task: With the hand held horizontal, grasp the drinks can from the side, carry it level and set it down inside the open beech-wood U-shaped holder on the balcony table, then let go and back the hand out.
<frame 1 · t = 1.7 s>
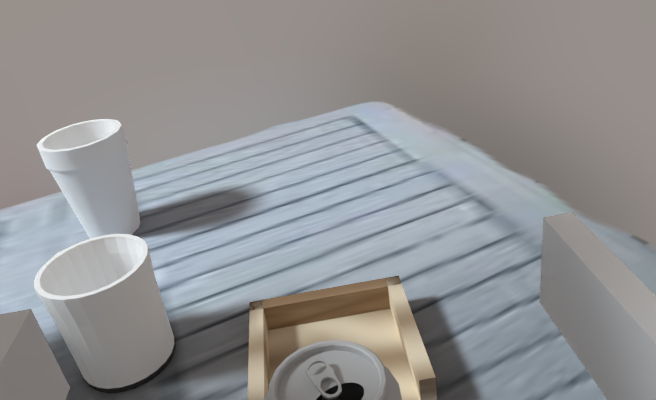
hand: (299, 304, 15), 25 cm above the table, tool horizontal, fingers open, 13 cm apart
holder: (337, 368, 46), on the table
foam cup: (115, 230, 72), on the table
mug: (124, 355, 51), on the table
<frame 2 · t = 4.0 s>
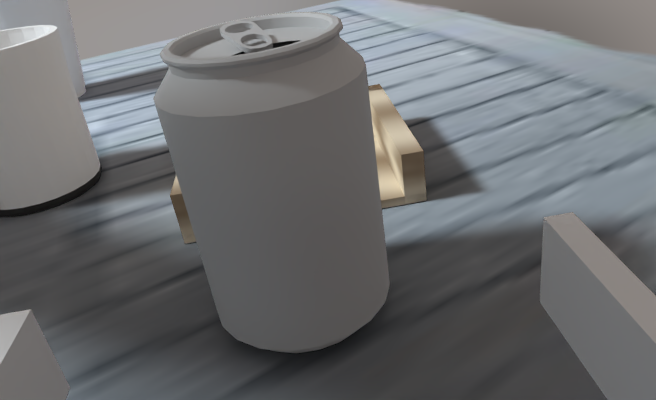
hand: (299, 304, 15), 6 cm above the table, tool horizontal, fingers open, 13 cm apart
holder: (300, 178, 36), on the table
can: (306, 308, 25), on the table
foam cup: (56, 99, 62), on the table
mug: (39, 187, 41), on the table
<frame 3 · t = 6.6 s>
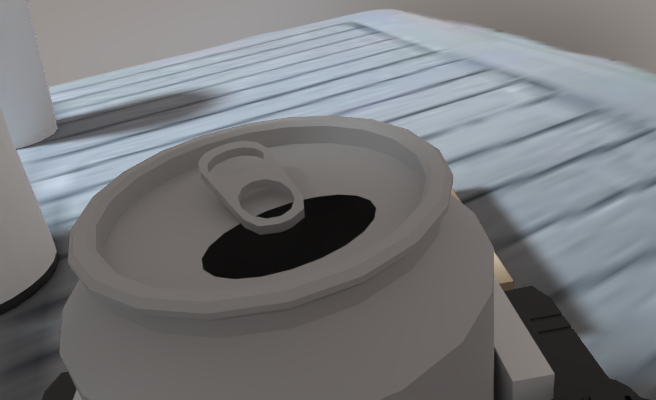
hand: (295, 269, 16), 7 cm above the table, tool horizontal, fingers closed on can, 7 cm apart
holder: (322, 288, 26), on the table
foam cup: (22, 139, 52), on the table
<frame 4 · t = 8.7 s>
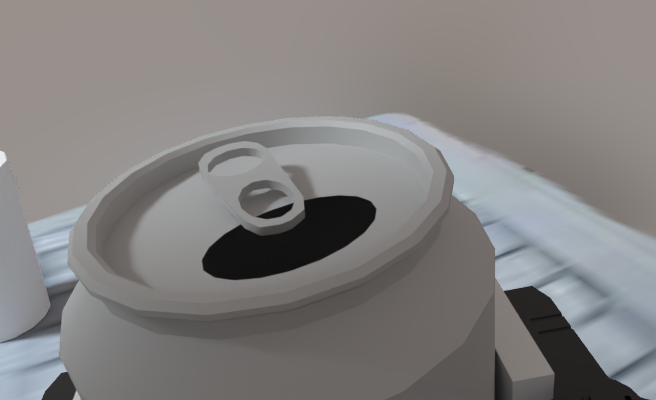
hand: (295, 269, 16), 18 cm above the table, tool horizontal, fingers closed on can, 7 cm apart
foam cup: (11, 319, 47), on the table
when the fingers open (9 cm above the table, at t = 10.9 s): can drops 1 cm, resting on holder.
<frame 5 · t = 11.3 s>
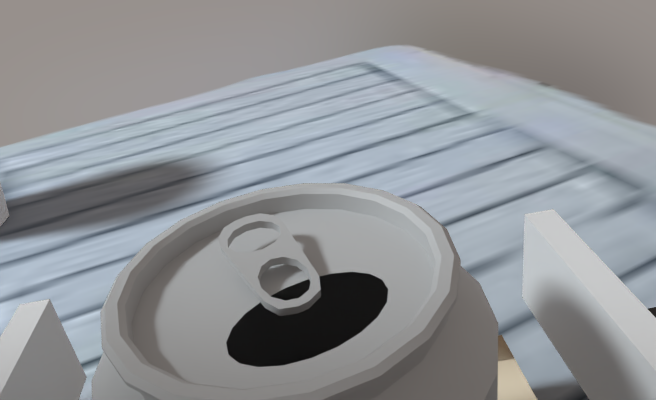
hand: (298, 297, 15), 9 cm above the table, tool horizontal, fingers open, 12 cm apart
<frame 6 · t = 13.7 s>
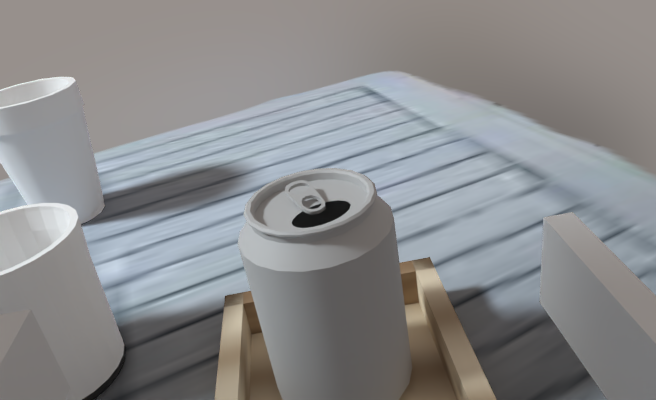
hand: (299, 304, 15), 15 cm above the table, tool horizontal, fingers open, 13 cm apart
holder: (347, 387, 32), on the table
can: (346, 383, 32), resting on holder
foam cup: (74, 215, 59), on the table
mug: (58, 370, 38), on the table
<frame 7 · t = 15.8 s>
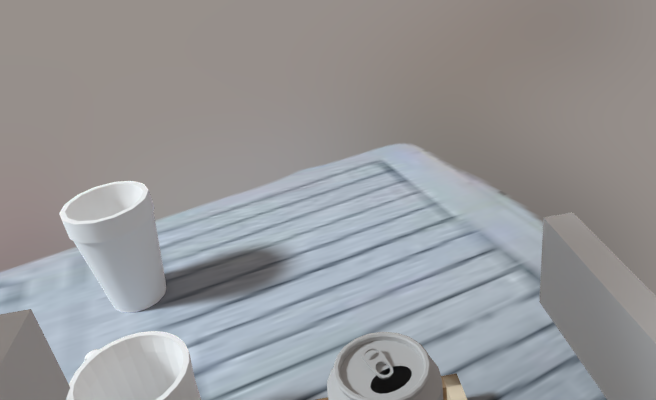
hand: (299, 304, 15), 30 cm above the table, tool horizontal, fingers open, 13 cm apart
foam cup: (140, 296, 68), on the table
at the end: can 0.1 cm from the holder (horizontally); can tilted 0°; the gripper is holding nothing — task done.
